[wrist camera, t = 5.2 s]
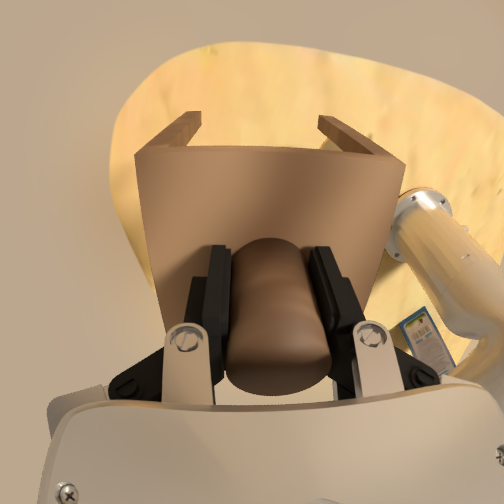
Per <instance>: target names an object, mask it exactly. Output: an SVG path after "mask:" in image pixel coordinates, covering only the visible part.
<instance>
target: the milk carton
mask: <svg viewBox="0 0 504 504" xmlns="http://www.w3.org/2000/svg"><path fill="white" fill-rule="evenodd" d="M399 325H400V327H401V329H402V332H403V334H404V336H405V338H406V341H407V343H408V345H409V347H410V350H411V352H412V354H413V357H414V358H416V359H418V360H419V361H421V362H423V363H425V364H426V365H428V366H430V367H431V368H433V369H434V370H435V371H436V373H437V374H438V376H441V375H442V374H444V375H447V374H448V373H449V372H451V371H452V370H453V369H454V368H455V367H456V365H455V363H454V361H453V358H452V356H451V354H450V352H449V350H448V348H447V346H446V344H445V343H444V341H443V339H442V337H441V335H440V333H439V331H438V329H437V327H436V326H435V324H434V322H433V320H432V318H431V316H430V315H429V313H428V311H427V309H426V308H425V306H424V307H422V308H421V309H419V310H418V311H417V312H415V313H414V314H412V315H411V316H409V317H408V318H406V319H405V320H403V321H402V322H400V323H399Z"/></svg>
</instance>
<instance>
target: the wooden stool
mask: <svg viewBox="0 0 504 504" xmlns="http://www.w3.org/2000/svg"><path fill="white" fill-rule="evenodd" d="M200 126H201V111H189V112H186V113H184V114H183V115H182V116H180V117H179V118H178V119H176V120H175V121H174V122H173V123H171V124H170V125H169V126H168V127H166V128H165V129H164V130H163V131H161V132H160V133H159V134H158V135H157V136H155V137H154V138H153V139H152V140H151V141H149V142H148V143H147V144H146V145H145V146H144V147H142V148H141V149H140V150H139V151H138V152H137V153H136V154H134V157H135V166H136V175H137V183H138V190H139V198H140V205H141V211H142V218H143V224H144V230H145V236H146V242H147V248H148V253H149V258H150V263H151V269H152V274H153V278H154V283H155V288H156V292H157V297H158V301H159V305H160V310H161V314H162V319H163V322H164V327H165V331H166V334H167V333H168V331H169V330H170V329H171V328H172V327H174V326H176V325H178V324H182V323H183V322H184V316H185V311H186V306H187V300H188V295H189V290H190V285H191V280H192V277H193V276H200V277H207V276H208V270H209V263H210V256H211V249H212V245H226V248H231V284H230V306H229V331H228V342H227V353H226V375H227V377H228V379H229V380H230V382H231V383H232V384H233V385H235V386H236V387H237V388H239V389H241V390H243V391H245V392H248V393H252V394H256V395H263V396H280V395H288V394H293V393H297V392H300V391H303V390H305V389H308V388H310V387H312V386H314V385H315V384H317V383H318V382H320V381H321V380H322V379H323V378H324V377H325V376H326V375H327V374H328V372H329V370H330V369H331V365H332V359H331V354H330V350H329V346H328V342H327V338H326V334H325V330H324V326H323V322H322V318H321V315H320V311H319V307H318V303H317V299H316V296H315V292H314V288H313V284H312V281H311V277H310V274H309V270H308V263H309V257H310V251H311V250H312V249H315V247H316V246H329V247H330V248H331V250H332V253H333V255H334V257H335V260H336V262H337V265H338V267H339V270H340V272H341V275H342V277H348V278H349V279H350V281H351V284H352V286H353V289H354V291H355V294H356V296H357V298H358V301H359V303H360V306H361V308H362V311H363V312H364V310H365V307H366V304H367V301H368V298H369V296H370V293H371V290H372V287H373V284H374V281H375V278H376V275H377V272H378V269H379V266H380V262H381V259H382V256H383V253H384V249H385V246H386V243H387V239H388V236H389V232H390V229H391V225H392V221H393V217H394V214H395V210H396V206H397V202H398V198H399V193H400V189H401V185H402V180H403V176H404V171H405V166H406V164H404V163H403V162H402V161H400V160H399V159H397V158H396V157H395V156H393V155H392V154H390V153H389V152H388V151H386V150H385V149H383V148H382V147H380V146H379V145H377V144H376V143H374V142H373V141H371V140H370V139H368V138H367V137H365V136H364V135H362V134H360V133H359V132H357V131H356V130H354V129H353V128H351V127H349V126H348V125H346V124H344V123H343V122H341V121H339V120H338V119H336V118H334V117H332V116H323V115H319V119H318V129H319V130H320V131H321V132H322V133H323V134H324V135H326V136H327V137H328V138H329V139H330V140H331V141H332V142H333V143H335V144H336V145H337V146H338V147H339V148H340V149H341V150H342V151H332V150H320V149H307V148H290V147H268V146H186V145H187V144H188V142H189V141H190V140H191V138H192V137H193V136H194V134H195V133H196V132H197V130H198V129H199V127H200Z"/></svg>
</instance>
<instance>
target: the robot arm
mask: <svg viewBox="0 0 504 504" xmlns="http://www.w3.org/2000/svg"><path fill="white" fill-rule="evenodd" d="M385 249H386V251H387V252H388V253H389V255H390V256H391V257H392V258H393V259H395V260H397V261H399V262H404V263H407V264H408V265H409V267H410V268H411V270H412V271H413V273H414V275H415V276H416V278H417V279H418V281H419V282H420V284H421V286H422V287H423V289H424V290H425V292H426V294H427V295H428V297H429V299H430V300H431V302H432V304H433V305H434V307H435V309H436V310H437V312H438V314H439V316H440V317H441V319H442V321H443V323H444V324H445V326H446V327H447V328H448V329H449V330H450V331H451V332H452V333H454V334H456V335H458V336H460V337H464V338H468V339H475V340H479V343H478V345H477V346H476V348H475V349H474V350H473V351H472V352H471V353H470V354H469V355H468V357H466V358H465V359H464V360H463V361H462V362H461V363H460V364H459V365H458V366H456V367H455V368H454V369H453V370H452V371H451V372H449V373H448V374H447V375H444V374H442V375H441V376H438V374H437V373H436V371H435V370H434V369H433V368H431V367H430V366H428V365H426V364H425V363H423V362H421V361H419V360H418V359H416V358H414V357H412V356H411V355H409V354H407V353H405V352H404V351H402V350H400V349H398V348H396V347H395V346H393V342H392V339H391V335H390V333H389V331H388V330H387V329H386V327H385V326H383V325H382V324H380V323H378V322H375V321H369V320H368V321H366V319H365V316H364V314H363V311H362V308H361V306H360V303H359V301H358V298H357V296H356V294H355V291H354V289H353V286H352V284H351V281H350V279H349V278H348V277H342V275H341V272H340V270H339V267H338V265H337V262H336V260H335V257H334V255H333V253H332V250H331V248H330V247H329V246H316V247H315V249H312V250H311V251H310V257H309V263H308V270H309V274H310V277H311V281H312V284H313V288H314V292H315V296H316V299H317V303H318V307H319V311H320V315H321V318H322V322H323V326H324V330H325V334H326V338H327V342H328V346H329V350H330V354H331V359H332V365H331V369H330V370H329V372H328V374H327V375H328V377H329V378H331V379H332V380H333V396H334V401H328V402H317V403H302V404H285V405H252V406H251V405H248V406H247V405H246V406H245V405H243V406H242V405H240V406H236V405H233V406H232V405H216V401H215V390H214V386H215V385H216V384H217V383H219V382H220V381H221V380H222V379H223V378H224V371H226V353H227V342H228V331H229V306H230V284H231V248H226V245H212V249H211V256H210V263H209V270H208V276H207V277H200V276H193V277H192V280H191V285H190V290H189V295H188V300H187V306H186V311H185V316H184V322H183V323H182V324H178V325H176V326H174V327H172V328H171V329H170V330H169V331H168V333H167V334H166V337H165V344H164V347H163V348H161V349H159V350H158V351H156V352H155V353H153V354H151V355H150V356H148V357H147V358H145V359H143V360H142V361H140V362H138V363H137V364H135V365H134V366H132V367H130V368H129V369H127V370H125V371H124V372H122V373H120V374H119V375H117V376H116V377H115V378H114V379H112V381H111V382H110V384H109V385H108V386H104V387H103V386H102V385H98V386H94V387H91V388H87V389H84V390H80V391H77V392H73V393H70V394H66V395H63V396H59V397H57V398H55V399H53V400H52V401H51V402H50V403H49V405H48V408H47V418H48V424H49V430H50V435H51V443H50V446H49V449H48V453H47V456H46V460H45V464H44V469H43V473H42V478H41V483H40V489H39V495H38V501H37V504H504V271H503V270H502V269H501V268H500V267H499V265H498V264H497V263H496V262H495V261H494V260H493V259H492V257H491V256H490V255H489V254H488V253H487V252H486V251H485V250H484V249H483V248H482V247H481V245H480V244H479V243H478V242H477V241H476V240H475V239H474V238H473V237H472V236H471V235H470V234H469V233H468V227H467V226H465V225H460V224H459V223H458V222H457V221H456V220H455V219H454V218H453V215H452V209H451V206H450V203H449V202H448V200H447V198H446V197H445V196H443V195H442V194H441V193H440V192H438V191H437V190H435V189H432V188H426V187H424V188H417V189H414V190H411V191H409V192H407V193H405V194H404V195H402V196H401V197H400V198H398V202H397V206H396V210H395V214H394V217H393V221H392V225H391V229H390V232H389V236H388V239H387V243H386V246H385ZM327 375H326V376H327Z"/></svg>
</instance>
